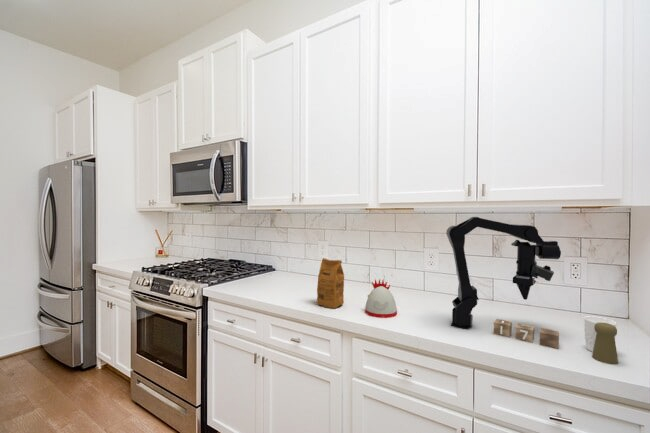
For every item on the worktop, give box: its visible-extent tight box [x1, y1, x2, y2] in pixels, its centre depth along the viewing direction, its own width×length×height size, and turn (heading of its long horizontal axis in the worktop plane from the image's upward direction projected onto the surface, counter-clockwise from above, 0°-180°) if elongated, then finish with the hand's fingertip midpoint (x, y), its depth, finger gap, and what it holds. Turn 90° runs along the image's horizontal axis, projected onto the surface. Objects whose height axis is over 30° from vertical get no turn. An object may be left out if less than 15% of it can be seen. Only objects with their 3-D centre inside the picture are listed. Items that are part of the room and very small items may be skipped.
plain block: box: [539, 327, 560, 350], centre depth 105 cm, size 5×5×4 cm
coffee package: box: [316, 257, 345, 309], centre depth 147 cm, size 10×12×22 cm
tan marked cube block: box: [514, 322, 535, 344], centre depth 109 cm, size 5×5×5 cm
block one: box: [493, 318, 513, 339], centre depth 114 cm, size 5×5×5 cm
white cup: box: [583, 315, 617, 353], centre depth 101 cm, size 8×8×10 cm
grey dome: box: [364, 278, 398, 319], centre depth 137 cm, size 14×14×15 cm
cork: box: [591, 322, 619, 365], centre depth 94 cm, size 6×6×11 cm
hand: (525, 299), depth 117 cm, fingers closed
